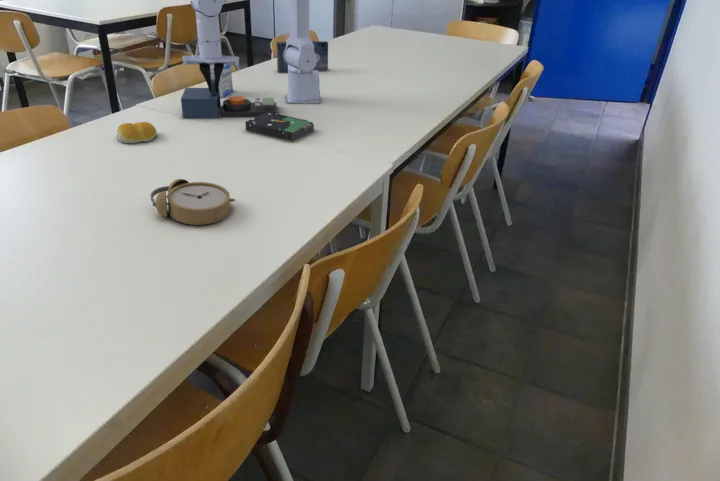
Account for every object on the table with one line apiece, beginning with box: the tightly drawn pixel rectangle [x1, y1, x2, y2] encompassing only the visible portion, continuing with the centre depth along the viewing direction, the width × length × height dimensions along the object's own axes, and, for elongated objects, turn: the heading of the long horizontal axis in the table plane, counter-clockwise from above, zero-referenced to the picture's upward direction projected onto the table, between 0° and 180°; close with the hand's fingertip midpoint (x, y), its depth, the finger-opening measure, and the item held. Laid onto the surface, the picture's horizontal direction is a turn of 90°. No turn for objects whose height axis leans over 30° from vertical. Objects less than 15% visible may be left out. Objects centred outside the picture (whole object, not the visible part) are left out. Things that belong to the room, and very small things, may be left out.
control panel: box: [221, 98, 278, 118], centre depth 155 cm, size 15×9×3 cm, turn 99°
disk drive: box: [245, 112, 315, 142], centre depth 142 cm, size 10×3×15 cm
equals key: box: [227, 95, 246, 105], centre depth 153 cm, size 5×5×1 cm
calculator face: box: [254, 96, 275, 106], centre depth 154 cm, size 5×8×1 cm, turn 9°
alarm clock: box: [150, 178, 236, 226], centre depth 103 cm, size 11×5×15 cm
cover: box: [180, 79, 222, 119], centre depth 151 cm, size 9×11×9 cm
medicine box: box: [210, 65, 234, 98], centre depth 167 cm, size 8×4×9 cm, turn 168°
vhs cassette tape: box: [276, 40, 329, 74], centre depth 195 cm, size 18×3×10 cm, turn 108°
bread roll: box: [116, 121, 158, 144], centre depth 134 cm, size 8×9×4 cm
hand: (214, 91), depth 151 cm, fingers closed on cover
